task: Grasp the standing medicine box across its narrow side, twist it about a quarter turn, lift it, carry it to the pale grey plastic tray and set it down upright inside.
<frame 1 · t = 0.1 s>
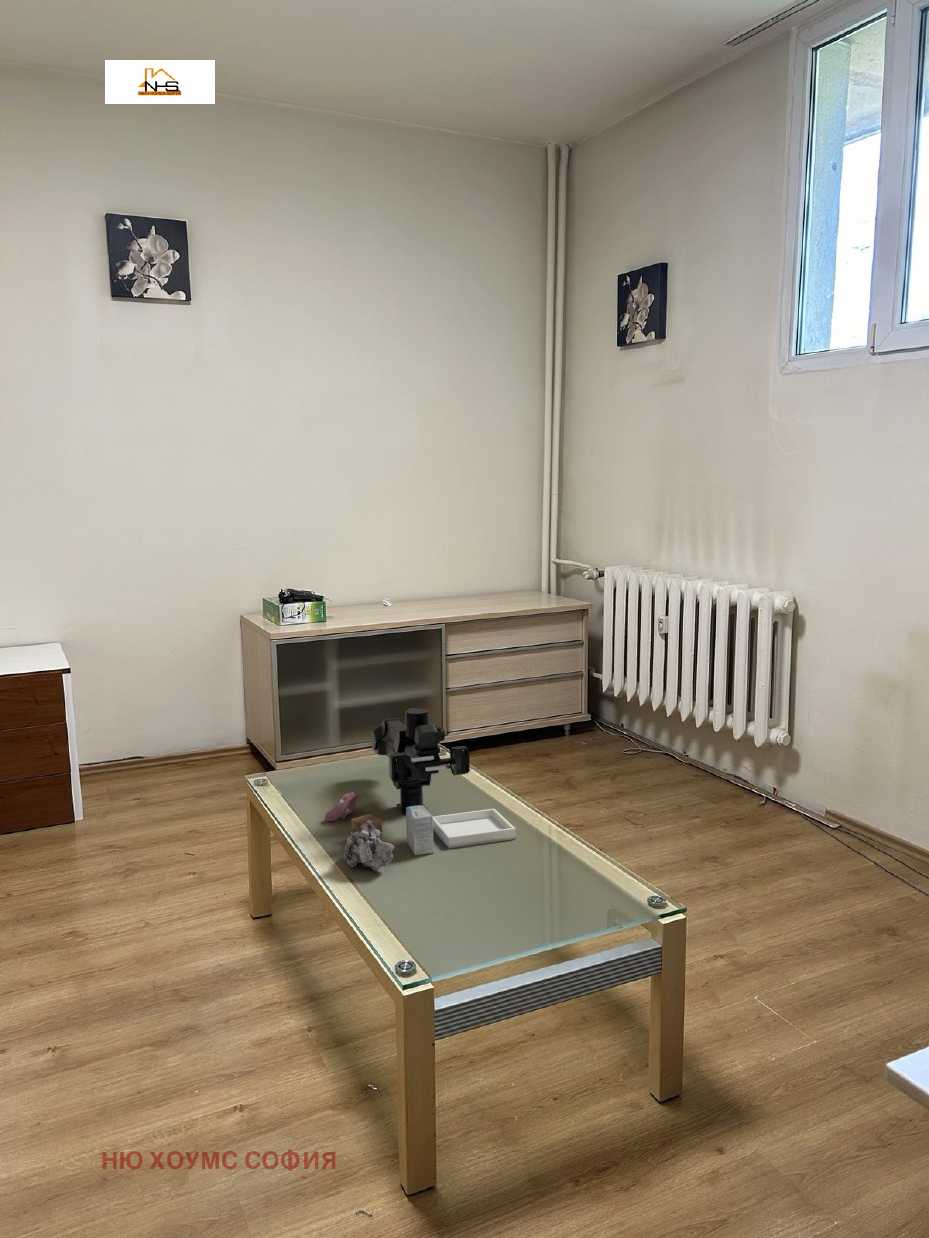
hand: (440, 774, 205), 17 cm above the table, fingers open, 9 cm apart
walnut block: (367, 840, 211), on the table
mineral specimen: (365, 865, 198), on the table
medicine box: (420, 849, 206), on the table
pink crystal rock: (343, 817, 227), on the table
tray: (472, 832, 215), on the table
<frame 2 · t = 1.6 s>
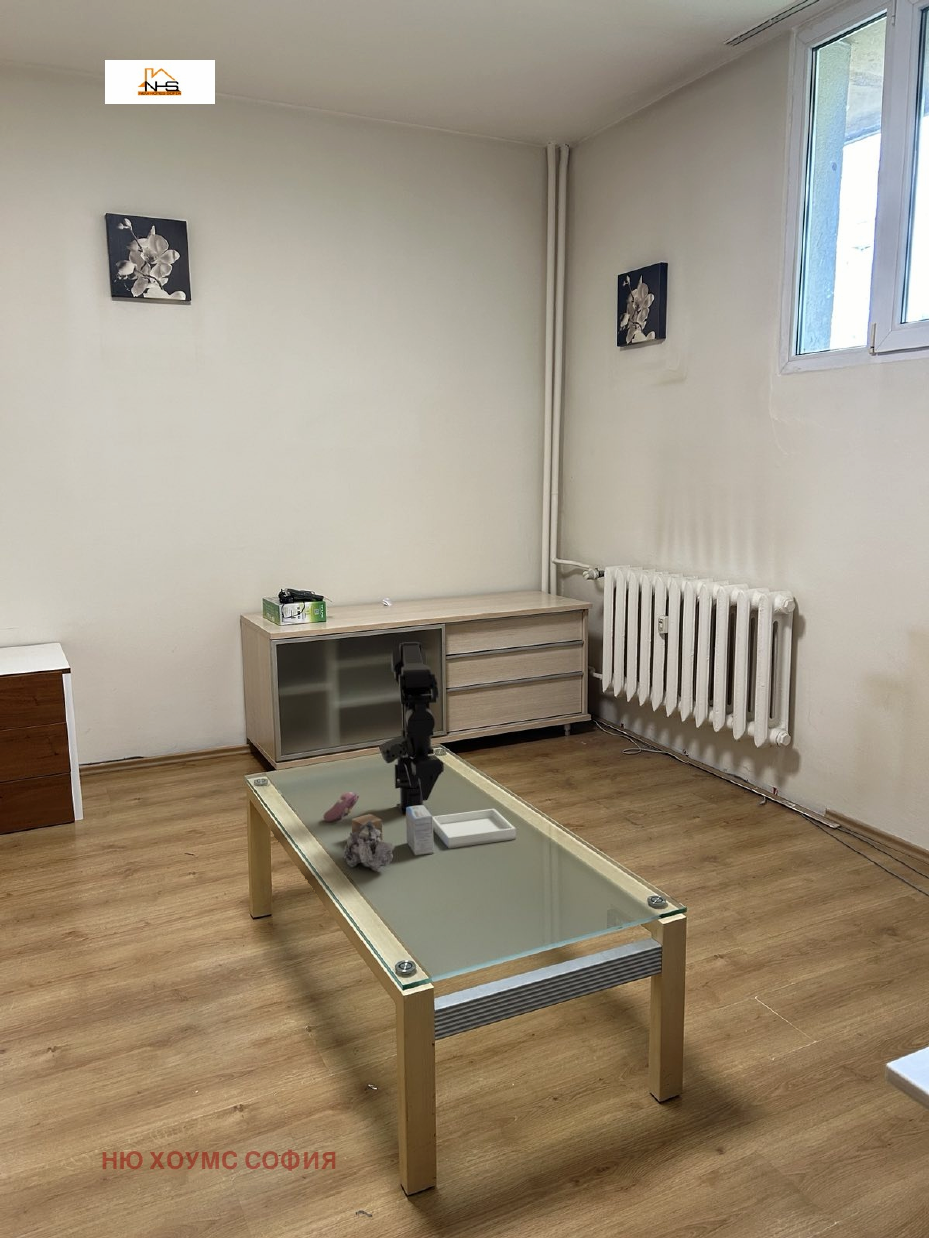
hand: (419, 793, 204), 13 cm above the table, fingers open, 9 cm apart
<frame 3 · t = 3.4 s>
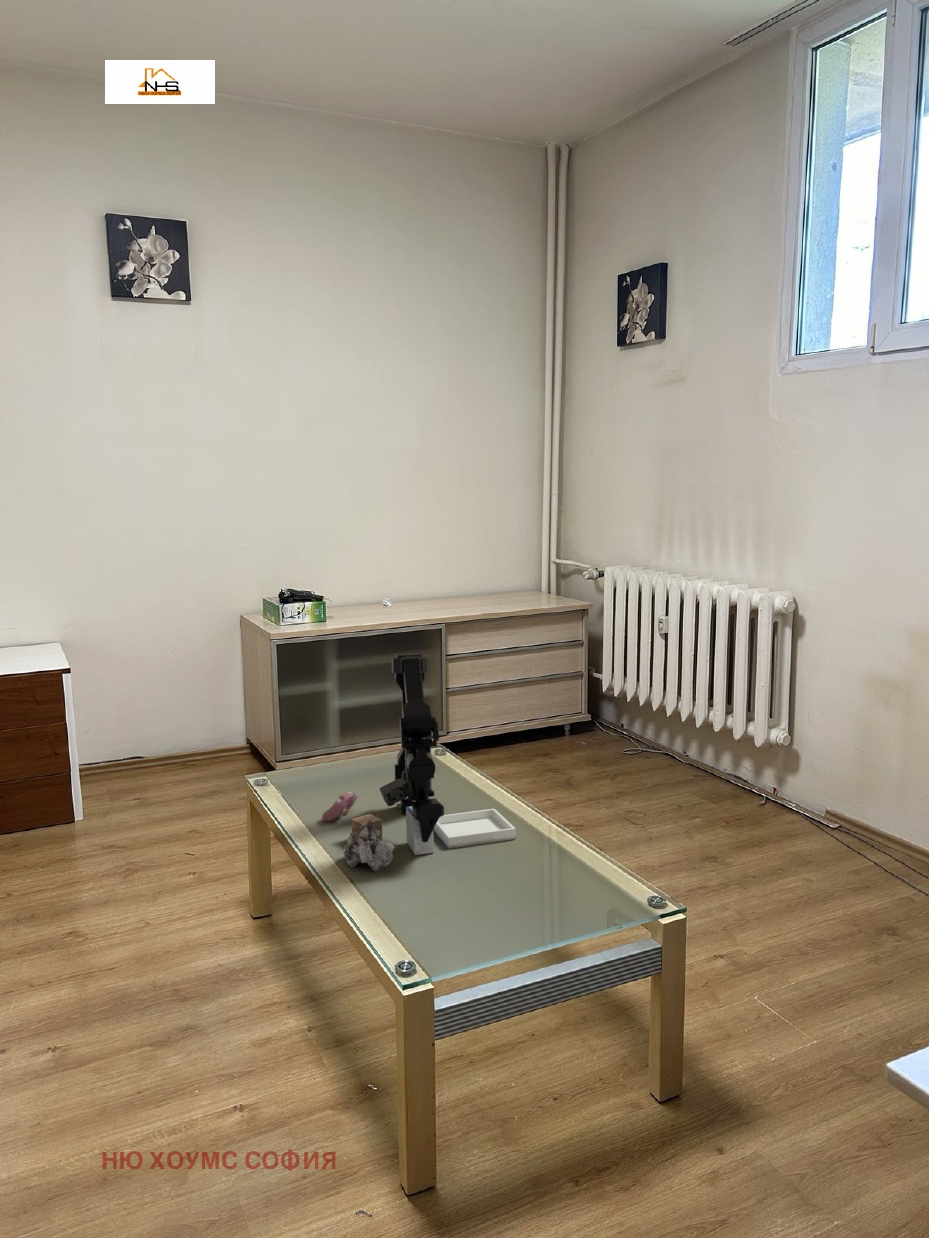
hand: (419, 835, 206), 3 cm above the table, fingers closed on medicine box, 8 cm apart
medicine box: (420, 848, 206), on the table, touching gripper
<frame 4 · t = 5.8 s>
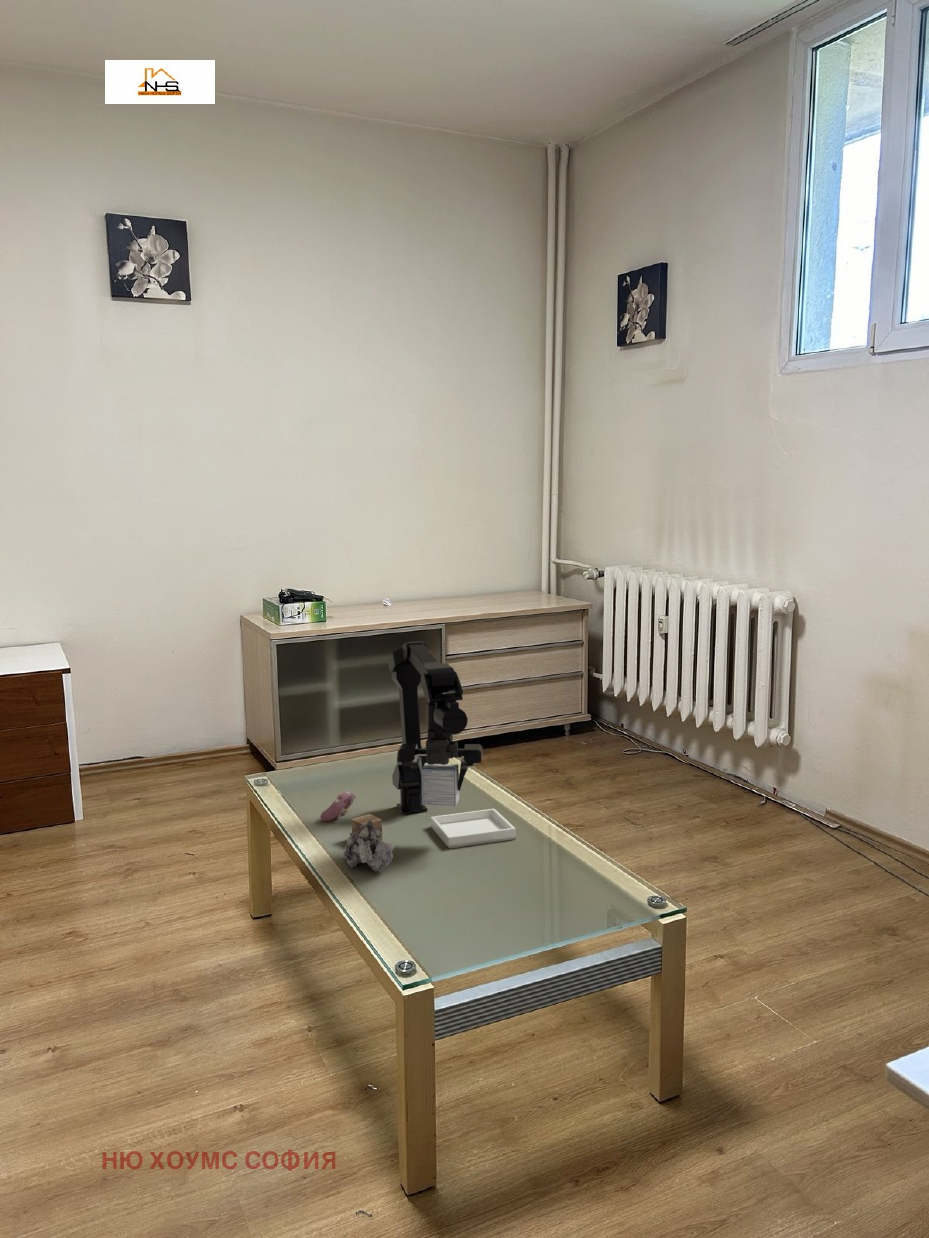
hand: (440, 789, 208), 12 cm above the table, fingers closed on medicine box, 8 cm apart
medicine box: (440, 803, 208), point 9 cm above the table, touching gripper
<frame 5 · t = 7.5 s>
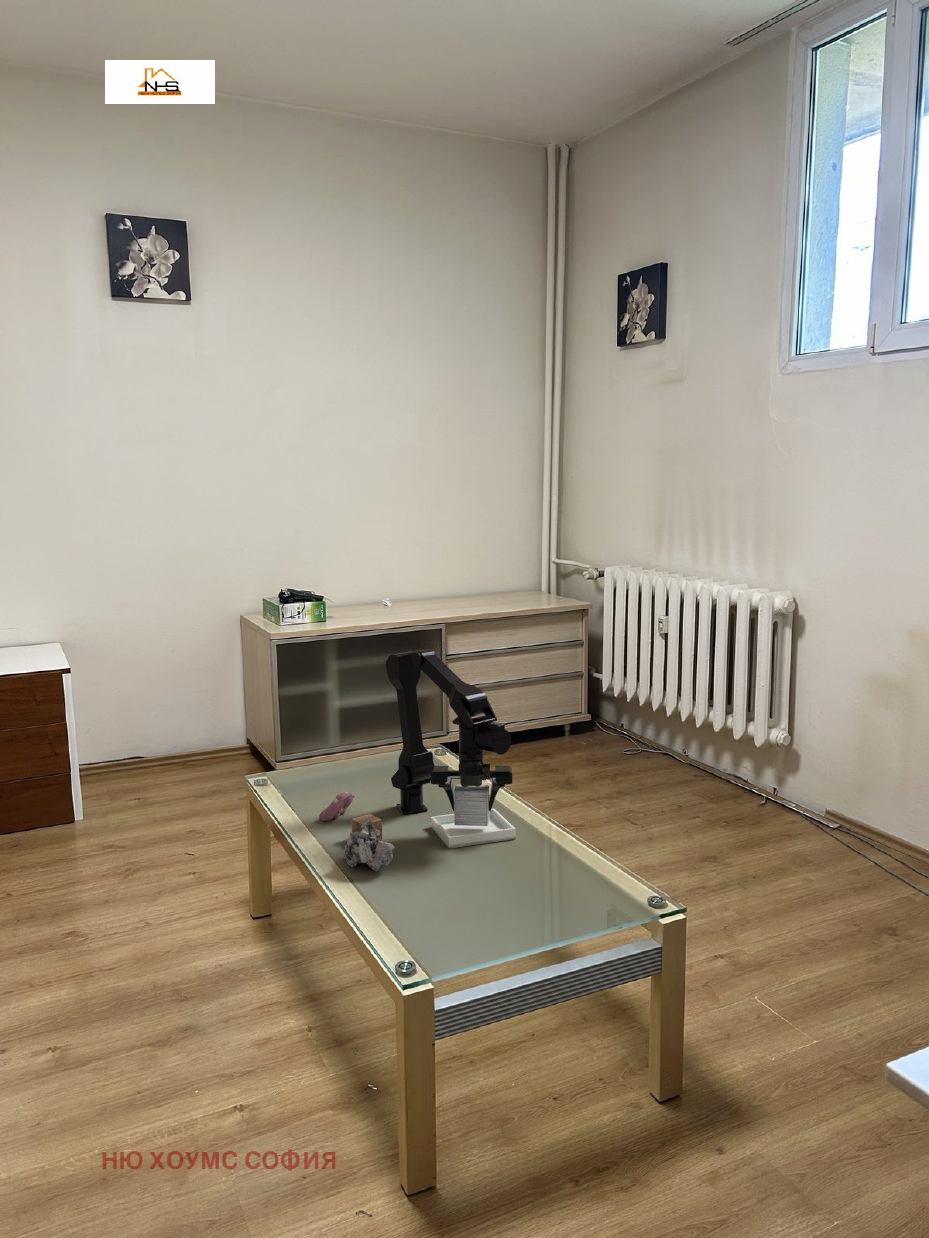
hand: (471, 810, 214), 5 cm above the table, fingers closed on medicine box, 8 cm apart
medicine box: (472, 823, 214), point 2 cm above the table, touching gripper
when the fingers open (5 cm above the table, at t = 8.7 s): medicine box stays where it is, resting on tray.
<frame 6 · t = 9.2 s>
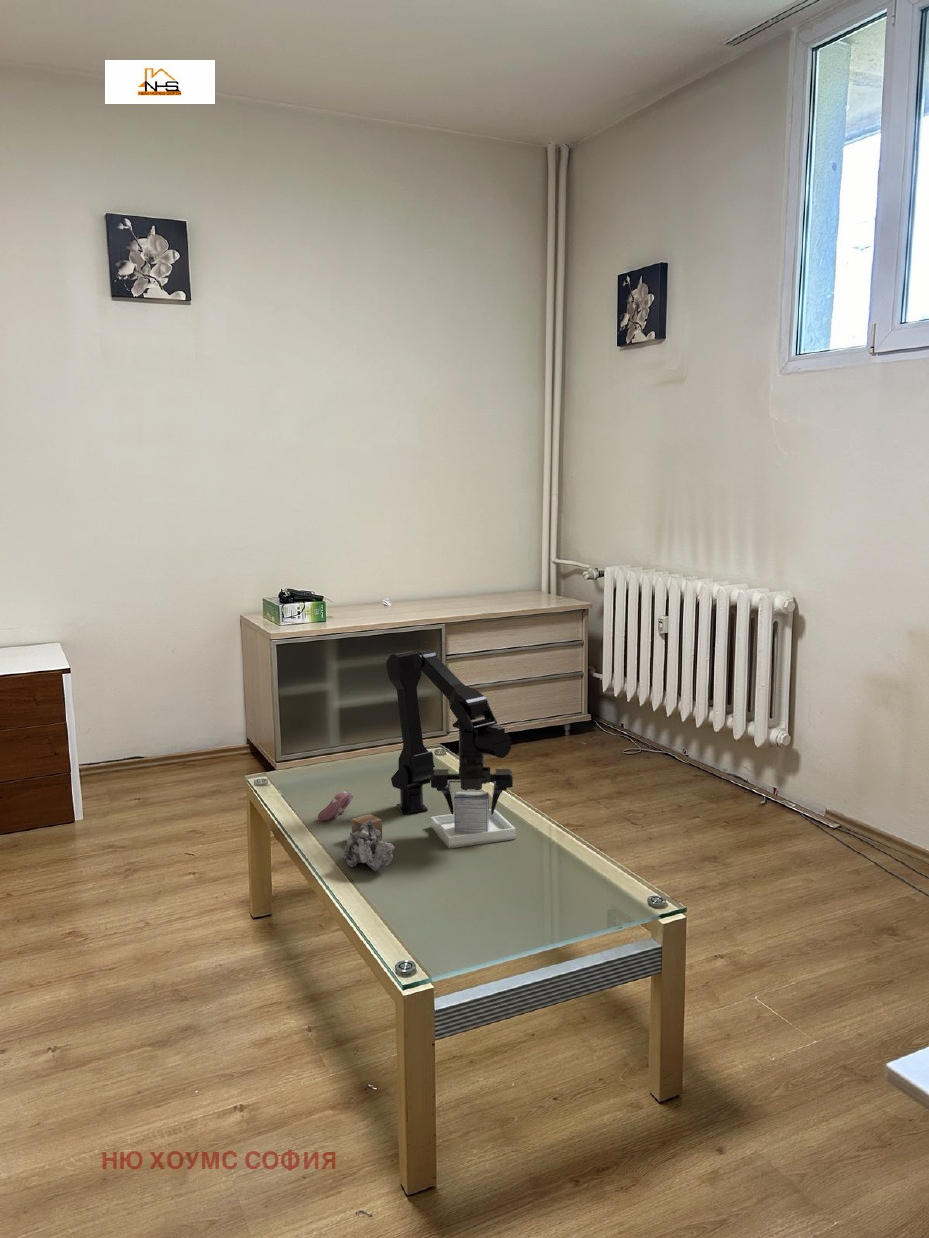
hand: (472, 813, 214), 5 cm above the table, fingers open, 9 cm apart
medicine box: (471, 831, 215), resting on tray
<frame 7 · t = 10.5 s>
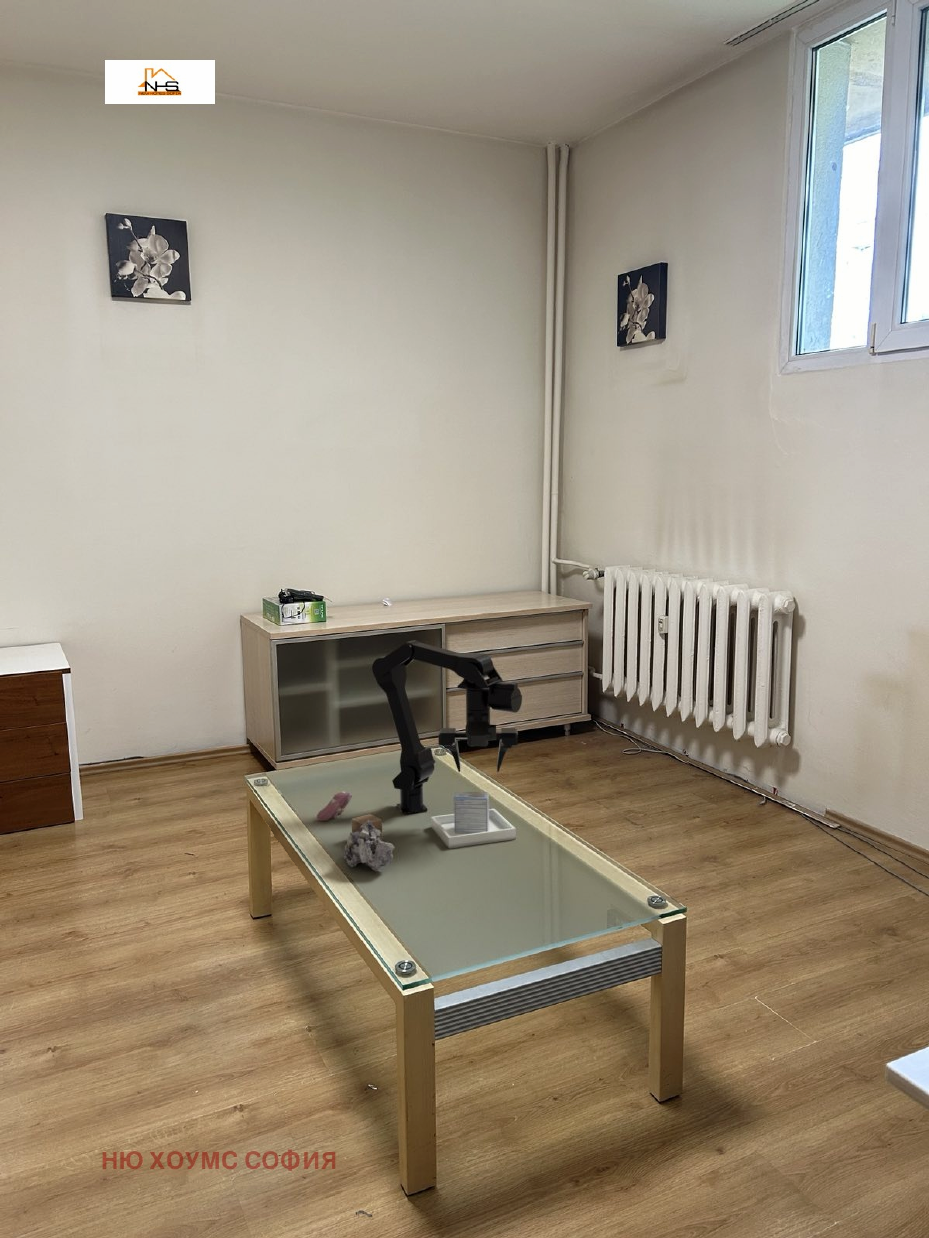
hand: (478, 771, 220), 12 cm above the table, fingers open, 9 cm apart
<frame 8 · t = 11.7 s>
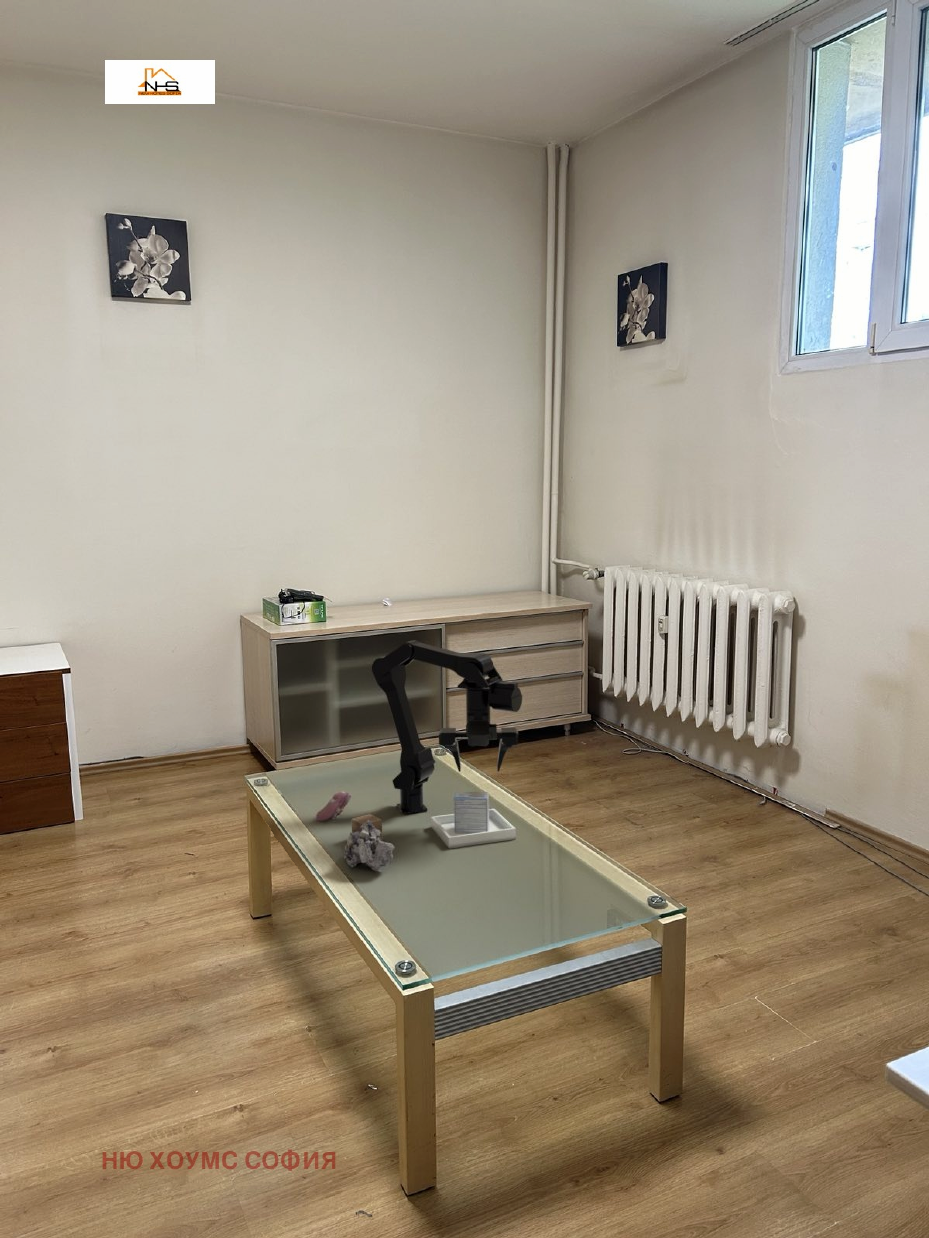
hand: (479, 771, 220), 13 cm above the table, fingers open, 9 cm apart
at the end: medicine box inside the target area on the tray (0.1 cm from its centre), point 0.4 cm above the tray's base; medicine box tilted 0°; the gripper is holding nothing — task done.
